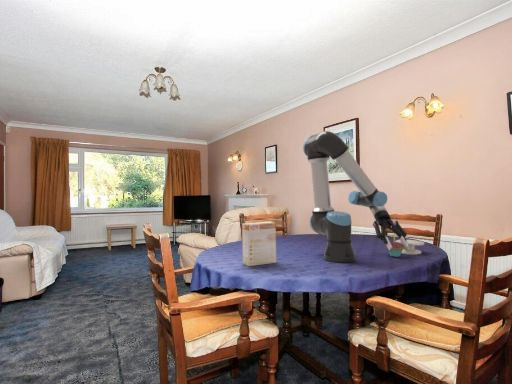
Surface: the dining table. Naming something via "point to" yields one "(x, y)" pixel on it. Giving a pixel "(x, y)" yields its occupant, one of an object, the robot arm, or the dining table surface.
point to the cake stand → (411, 247)
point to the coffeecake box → (259, 243)
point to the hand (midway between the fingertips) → (398, 248)
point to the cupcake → (396, 248)
